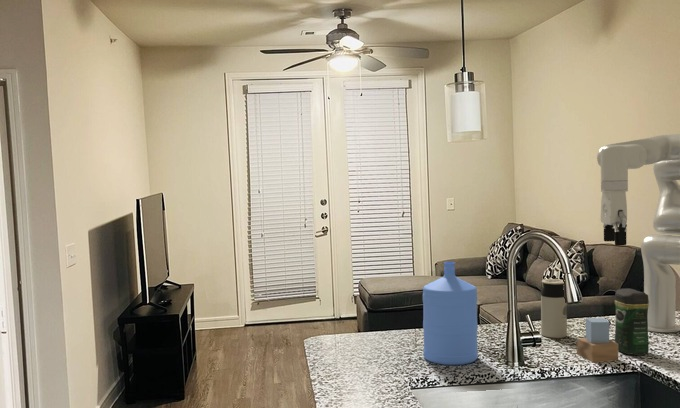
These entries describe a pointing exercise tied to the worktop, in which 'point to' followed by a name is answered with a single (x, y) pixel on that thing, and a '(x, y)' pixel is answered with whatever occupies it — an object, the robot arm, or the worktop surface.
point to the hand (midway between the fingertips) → (614, 243)
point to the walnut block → (597, 350)
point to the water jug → (450, 320)
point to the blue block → (597, 330)
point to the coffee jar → (631, 321)
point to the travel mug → (553, 309)
